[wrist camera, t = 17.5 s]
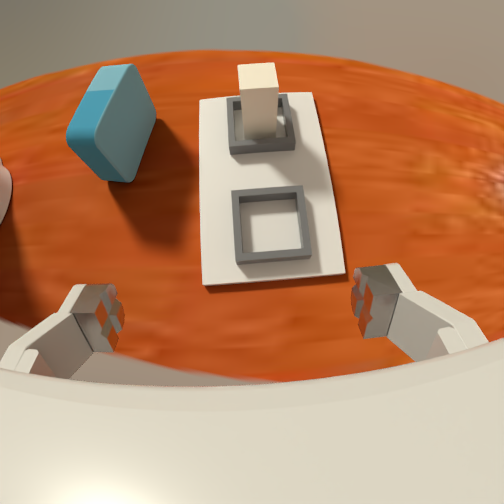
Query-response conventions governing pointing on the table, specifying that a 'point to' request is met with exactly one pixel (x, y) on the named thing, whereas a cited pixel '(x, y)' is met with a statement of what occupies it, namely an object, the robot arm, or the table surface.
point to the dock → (265, 196)
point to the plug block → (258, 100)
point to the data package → (113, 123)
